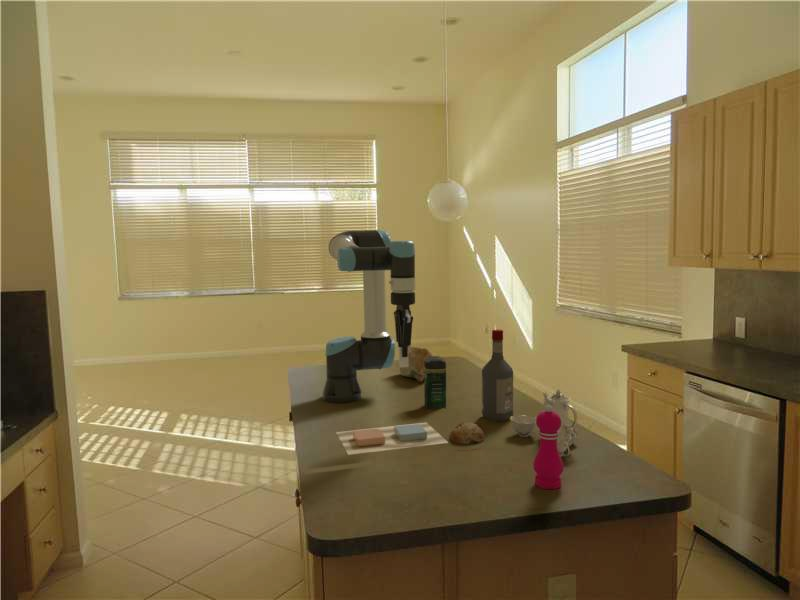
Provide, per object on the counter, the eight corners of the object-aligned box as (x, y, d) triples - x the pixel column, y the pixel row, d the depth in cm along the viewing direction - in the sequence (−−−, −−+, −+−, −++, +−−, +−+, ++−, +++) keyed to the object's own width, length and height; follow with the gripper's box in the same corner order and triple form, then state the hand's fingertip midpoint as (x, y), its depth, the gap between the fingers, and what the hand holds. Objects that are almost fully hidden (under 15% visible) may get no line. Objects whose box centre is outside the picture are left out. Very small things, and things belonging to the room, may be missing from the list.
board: (335, 436, 179) (335, 432, 179) (426, 425, 187) (426, 422, 187) (348, 458, 160) (348, 454, 160) (448, 446, 168) (448, 442, 168)
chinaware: (500, 438, 180) (496, 387, 178) (544, 425, 186) (540, 376, 184) (557, 470, 154) (552, 411, 152) (605, 454, 160) (602, 397, 158)
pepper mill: (529, 478, 145) (529, 401, 143) (557, 477, 146) (557, 400, 144) (538, 490, 138) (539, 410, 136) (567, 489, 138) (568, 408, 136)
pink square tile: (352, 431, 173) (358, 439, 165) (378, 428, 175) (385, 436, 168) (352, 438, 173) (358, 447, 166) (378, 435, 176) (385, 444, 168)
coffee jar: (448, 410, 204) (447, 359, 202) (426, 411, 203) (425, 360, 201) (444, 403, 213) (444, 354, 212) (423, 403, 213) (422, 354, 211)
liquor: (516, 416, 196) (516, 330, 193) (501, 423, 189) (501, 333, 186) (493, 411, 202) (493, 327, 199) (478, 417, 195) (478, 330, 192)
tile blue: (394, 426, 177) (401, 434, 169) (418, 423, 179) (426, 431, 171) (394, 433, 177) (401, 442, 169) (418, 430, 179) (427, 439, 172)
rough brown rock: (450, 384, 245) (452, 349, 244) (414, 384, 239) (416, 349, 239) (429, 374, 267) (431, 342, 266) (396, 374, 261) (397, 342, 260)
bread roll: (458, 460, 167) (464, 440, 164) (441, 436, 175) (447, 416, 171) (486, 454, 172) (493, 434, 168) (468, 431, 180) (474, 411, 176)
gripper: (385, 289, 180) (386, 363, 183) (396, 294, 168) (397, 372, 171) (408, 288, 182) (409, 361, 185) (421, 293, 170) (421, 370, 173)
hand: (403, 366), depth 178 cm, fingers closed
